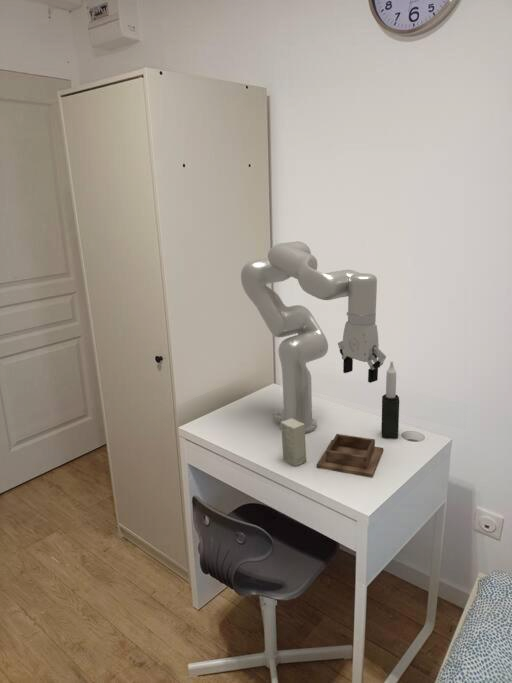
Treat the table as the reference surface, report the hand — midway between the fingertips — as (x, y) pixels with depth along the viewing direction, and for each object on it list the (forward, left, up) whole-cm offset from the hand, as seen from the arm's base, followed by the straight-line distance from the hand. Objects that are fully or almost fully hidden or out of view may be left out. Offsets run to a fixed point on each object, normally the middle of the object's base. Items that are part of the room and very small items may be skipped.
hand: (360, 376), depth 144 cm
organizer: (-2, -4, -25) cm, 25 cm away
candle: (+6, +15, -25) cm, 30 cm away
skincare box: (-17, -10, -25) cm, 32 cm away
